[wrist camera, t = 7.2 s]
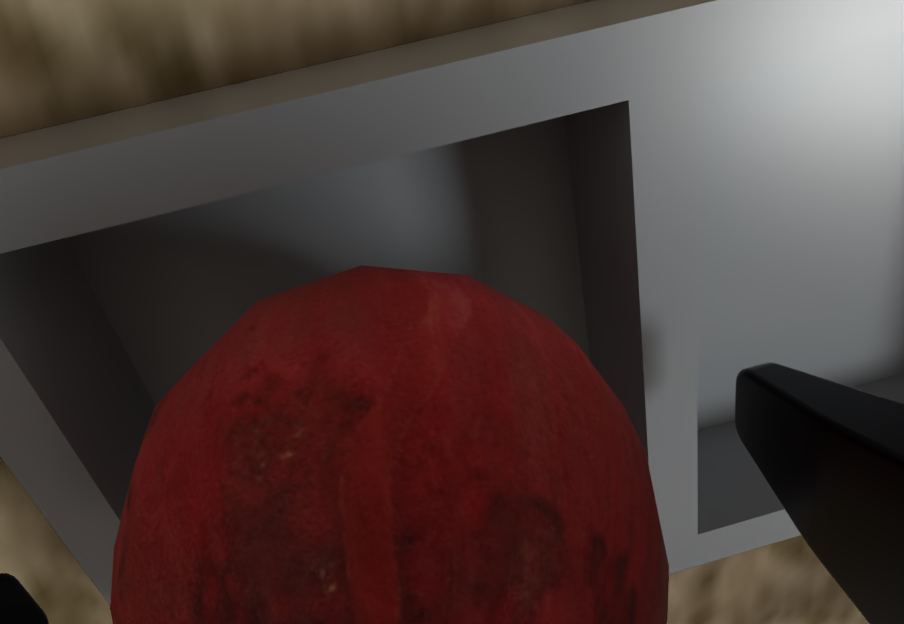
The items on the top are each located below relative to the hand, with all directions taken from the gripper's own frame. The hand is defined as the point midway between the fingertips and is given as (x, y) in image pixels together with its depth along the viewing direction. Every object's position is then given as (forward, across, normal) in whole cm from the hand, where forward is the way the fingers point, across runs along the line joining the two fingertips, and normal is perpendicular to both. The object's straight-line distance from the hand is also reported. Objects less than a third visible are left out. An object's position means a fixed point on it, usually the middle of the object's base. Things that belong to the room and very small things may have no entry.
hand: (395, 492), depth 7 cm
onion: (+4, 0, 0) cm, 4 cm away
